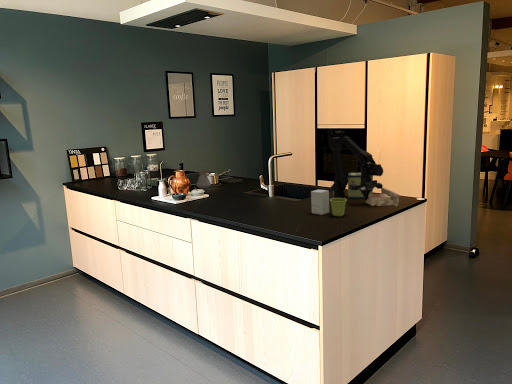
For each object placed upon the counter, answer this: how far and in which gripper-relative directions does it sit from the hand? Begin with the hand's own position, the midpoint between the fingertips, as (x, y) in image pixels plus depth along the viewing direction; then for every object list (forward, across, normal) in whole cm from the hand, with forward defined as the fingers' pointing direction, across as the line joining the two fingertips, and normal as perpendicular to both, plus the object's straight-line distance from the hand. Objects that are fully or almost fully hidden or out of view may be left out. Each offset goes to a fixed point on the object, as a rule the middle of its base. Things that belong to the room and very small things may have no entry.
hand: (365, 200), depth 252 cm
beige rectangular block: (+3, +8, -1) cm, 8 cm away
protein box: (+2, +4, +20) cm, 21 cm away
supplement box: (+2, -31, -14) cm, 34 cm away
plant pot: (+2, -23, -22) cm, 32 cm away
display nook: (+2, +9, 0) cm, 9 cm away
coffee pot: (+2, -97, +90) cm, 132 cm away
